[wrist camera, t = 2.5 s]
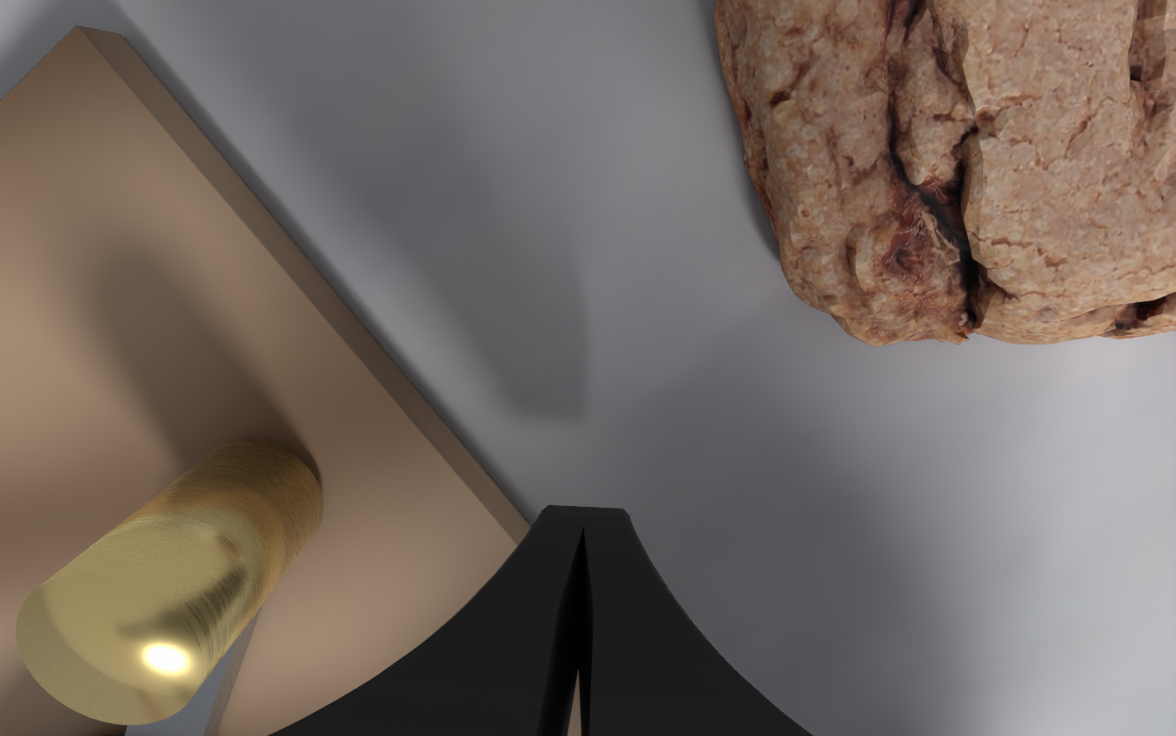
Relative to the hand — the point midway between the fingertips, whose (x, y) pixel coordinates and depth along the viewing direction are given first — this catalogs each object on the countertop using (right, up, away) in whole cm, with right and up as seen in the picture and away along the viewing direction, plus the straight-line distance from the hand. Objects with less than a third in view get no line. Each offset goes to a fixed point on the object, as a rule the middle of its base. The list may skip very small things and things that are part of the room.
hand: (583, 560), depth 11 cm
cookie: (+7, +8, 0) cm, 11 cm away
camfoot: (-8, -4, +3) cm, 9 cm away
